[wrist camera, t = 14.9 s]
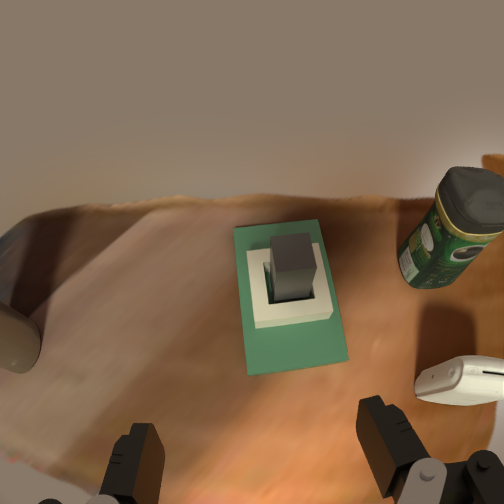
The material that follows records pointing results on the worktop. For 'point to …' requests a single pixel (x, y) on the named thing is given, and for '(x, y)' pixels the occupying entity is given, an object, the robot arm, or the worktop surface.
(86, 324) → the worktop surface
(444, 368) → the photo printer
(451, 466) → the robot arm
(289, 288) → the plug
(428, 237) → the coffee jar
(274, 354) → the header board
